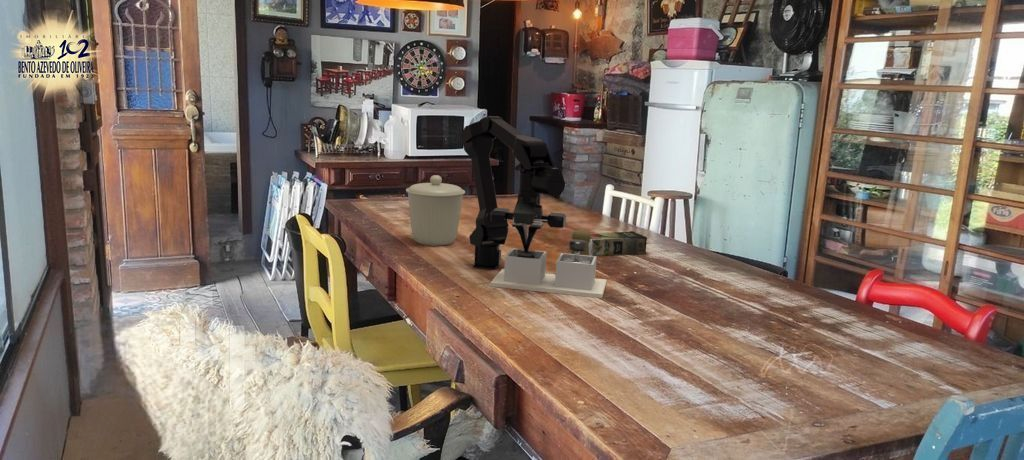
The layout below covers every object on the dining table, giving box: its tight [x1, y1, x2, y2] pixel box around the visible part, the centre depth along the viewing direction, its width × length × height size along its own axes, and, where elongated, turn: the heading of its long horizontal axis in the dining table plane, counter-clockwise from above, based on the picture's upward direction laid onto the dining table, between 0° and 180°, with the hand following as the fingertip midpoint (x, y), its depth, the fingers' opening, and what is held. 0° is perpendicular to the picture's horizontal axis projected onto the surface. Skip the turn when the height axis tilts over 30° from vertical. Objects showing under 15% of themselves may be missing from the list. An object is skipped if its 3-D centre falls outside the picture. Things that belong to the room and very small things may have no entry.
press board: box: [490, 248, 608, 299], centre depth 186 cm, size 28×14×8 cm, turn 79°
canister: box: [405, 174, 466, 247], centre depth 225 cm, size 18×18×21 cm
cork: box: [570, 229, 591, 256], centre depth 203 cm, size 6×6×11 cm
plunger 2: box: [563, 239, 590, 264], centre depth 183 cm, size 7×7×6 cm
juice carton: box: [588, 230, 648, 257], centre depth 226 cm, size 20×10×6 cm, turn 110°
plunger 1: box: [518, 248, 536, 259], centre depth 187 cm, size 7×7×6 cm
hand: (526, 250), depth 186 cm, fingers closed, pressing on plunger 1
